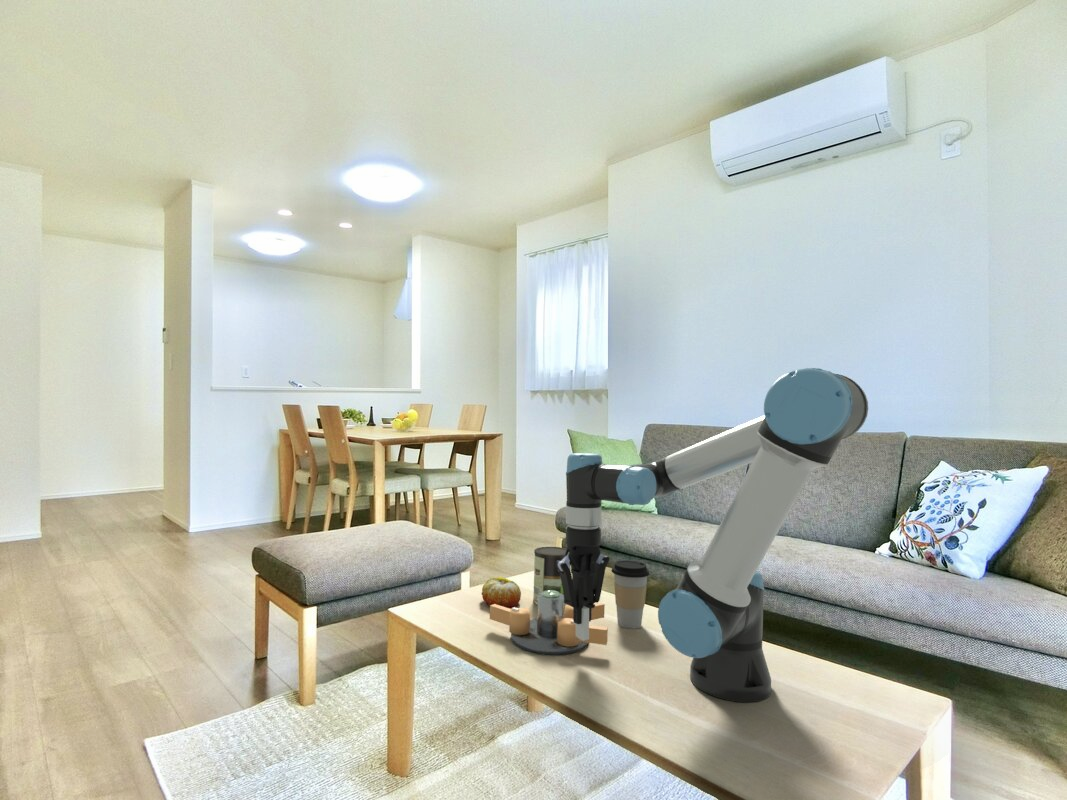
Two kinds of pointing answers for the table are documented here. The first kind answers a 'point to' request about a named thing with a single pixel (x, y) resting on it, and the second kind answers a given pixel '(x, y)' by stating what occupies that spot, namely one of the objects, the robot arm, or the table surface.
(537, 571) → the coffee can
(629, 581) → the coffee cup
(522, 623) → the knob
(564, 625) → the knob
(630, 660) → the table surface
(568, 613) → the knob
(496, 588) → the fruit
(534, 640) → the base
